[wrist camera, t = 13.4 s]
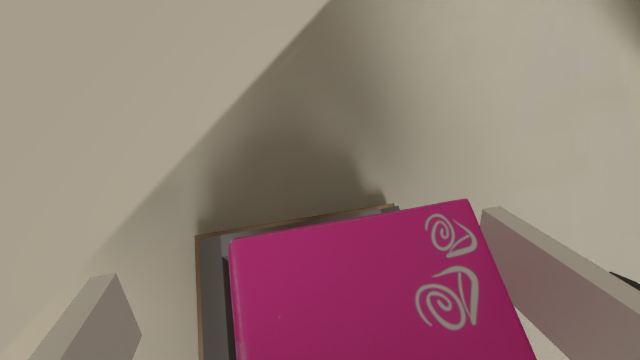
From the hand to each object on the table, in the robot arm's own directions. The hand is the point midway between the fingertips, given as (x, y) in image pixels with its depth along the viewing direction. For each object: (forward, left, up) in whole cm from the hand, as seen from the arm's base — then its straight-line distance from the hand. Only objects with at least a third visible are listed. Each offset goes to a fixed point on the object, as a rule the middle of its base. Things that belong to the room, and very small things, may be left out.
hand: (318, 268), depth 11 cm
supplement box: (0, +2, -6) cm, 7 cm away
